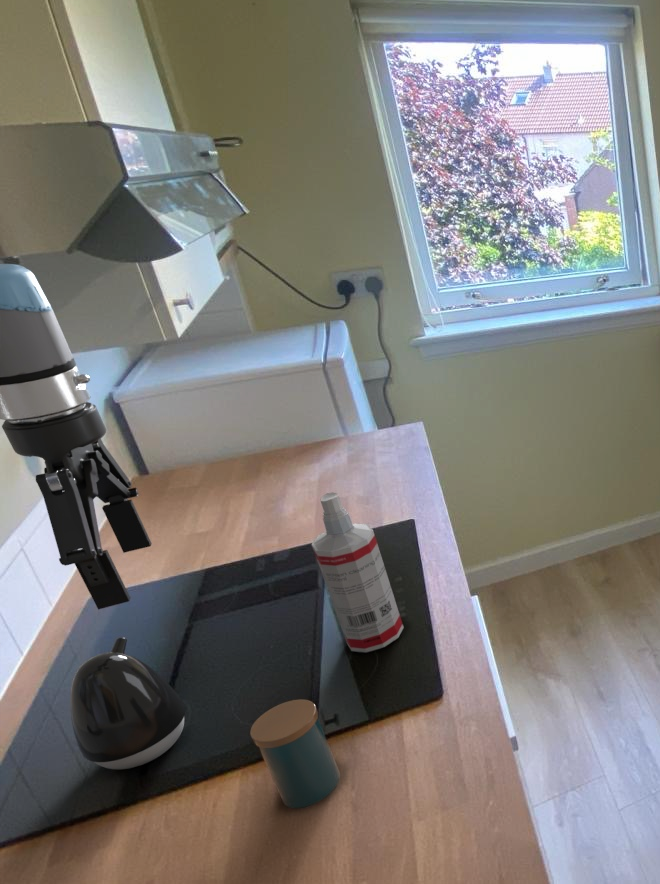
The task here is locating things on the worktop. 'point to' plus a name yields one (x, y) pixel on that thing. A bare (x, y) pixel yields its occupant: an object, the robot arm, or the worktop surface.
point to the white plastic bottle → (356, 579)
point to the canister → (296, 752)
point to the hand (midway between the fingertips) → (127, 574)
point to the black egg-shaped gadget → (123, 710)
